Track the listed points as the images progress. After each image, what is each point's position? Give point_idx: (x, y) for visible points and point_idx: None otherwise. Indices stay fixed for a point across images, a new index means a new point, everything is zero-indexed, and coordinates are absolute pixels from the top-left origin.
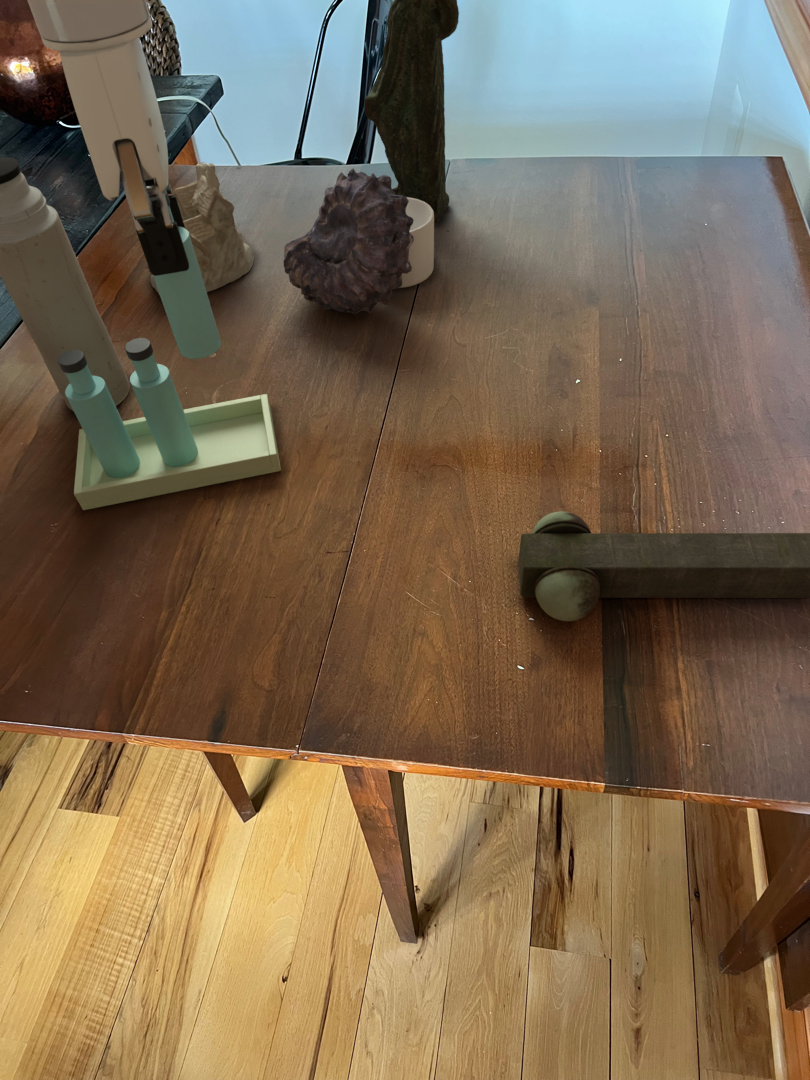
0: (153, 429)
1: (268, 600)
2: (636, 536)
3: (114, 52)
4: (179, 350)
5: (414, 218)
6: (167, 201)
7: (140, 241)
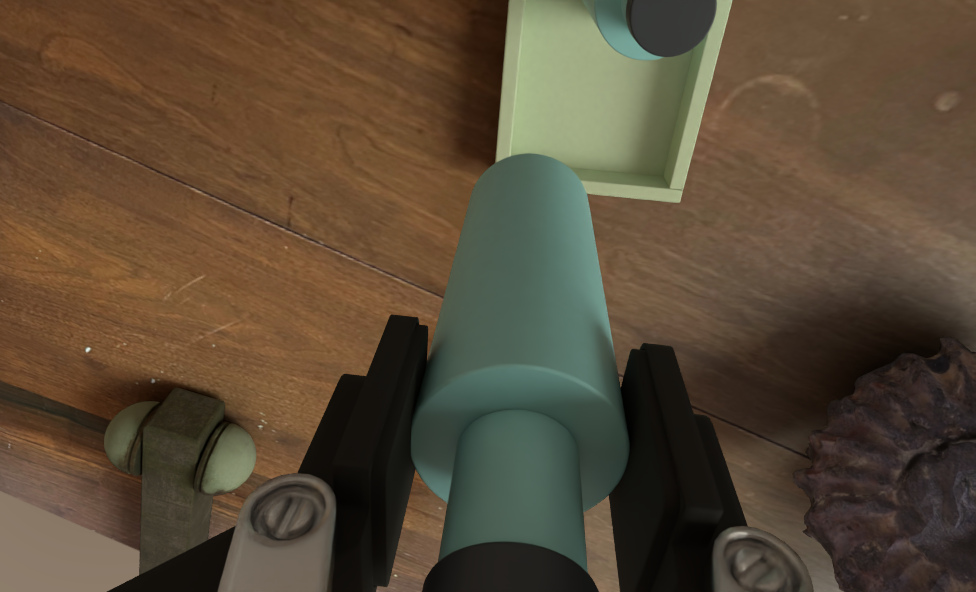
0: None
1: (207, 88)
2: (184, 523)
3: None
4: (513, 158)
5: None
6: None
7: (348, 422)
